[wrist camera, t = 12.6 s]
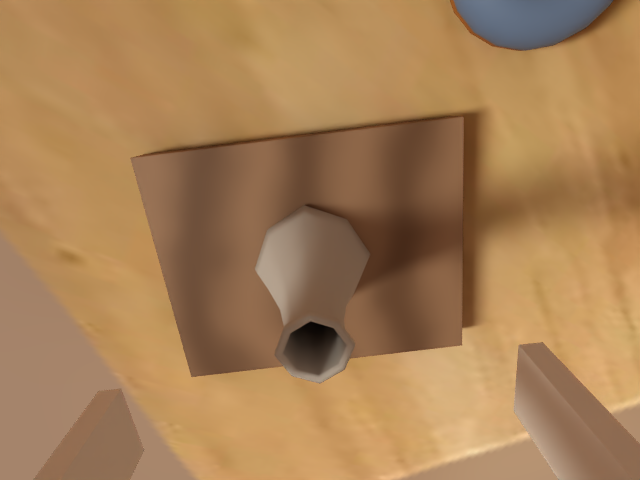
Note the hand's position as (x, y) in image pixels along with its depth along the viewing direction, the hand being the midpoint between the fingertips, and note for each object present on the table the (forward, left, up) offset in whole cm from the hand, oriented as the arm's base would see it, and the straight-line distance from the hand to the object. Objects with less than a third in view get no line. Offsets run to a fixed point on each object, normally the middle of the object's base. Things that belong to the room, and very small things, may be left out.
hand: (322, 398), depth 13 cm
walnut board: (0, 0, -15) cm, 15 cm away
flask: (0, 0, -13) cm, 13 cm away
